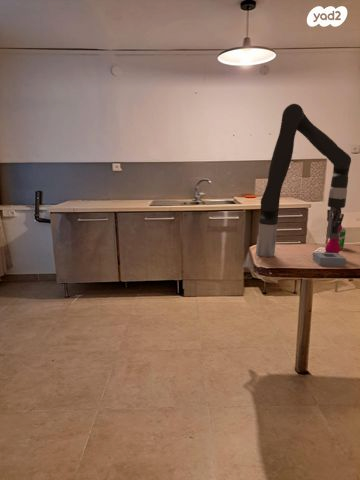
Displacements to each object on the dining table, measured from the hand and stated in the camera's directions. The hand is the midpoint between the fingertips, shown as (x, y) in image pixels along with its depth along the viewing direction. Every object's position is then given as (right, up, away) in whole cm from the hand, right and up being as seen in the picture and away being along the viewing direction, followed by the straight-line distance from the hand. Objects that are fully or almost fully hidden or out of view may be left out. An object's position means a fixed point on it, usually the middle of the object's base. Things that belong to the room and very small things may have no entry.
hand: (332, 232), depth 152 cm
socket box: (0, -15, +4) cm, 16 cm away
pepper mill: (+6, -13, +14) cm, 20 cm away
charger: (0, -3, +1) cm, 3 cm away
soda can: (+18, -9, +32) cm, 38 cm away
